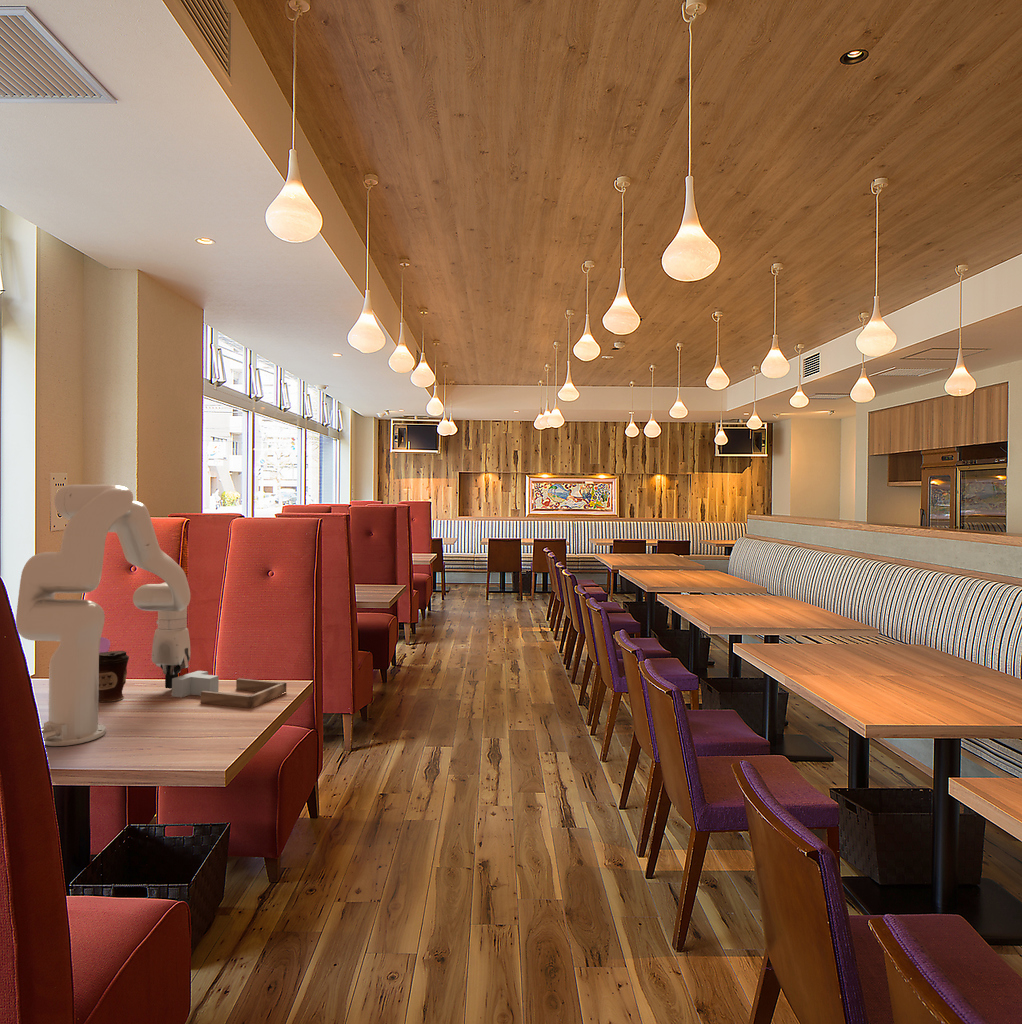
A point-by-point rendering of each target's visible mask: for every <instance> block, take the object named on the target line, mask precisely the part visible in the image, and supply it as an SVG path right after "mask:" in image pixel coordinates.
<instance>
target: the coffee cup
mask: <svg viewBox="0 0 1022 1024" xmlns="http://www.w3.org/2000/svg"><path fill="white" fill-rule="evenodd" d="M129 659H130V656H129V655H127V651H125V650H113V651H112V650H111V651H108V652H100V653H99V696H98V703H99V702H101V703H104V702H105V703H107V702H108V703H109V702H116V701H121V700H123V699H124V698H125V697H124V694H123V690H124V689H123V688H124V686H125V684H126V681H127V674H128V671H127V668H128V666H127V665H128V664H129Z"/></svg>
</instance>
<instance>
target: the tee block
mask: <svg viewBox="0 0 1022 1024" xmlns="http://www.w3.org/2000/svg"><path fill="white" fill-rule="evenodd" d="M219 680H220V679H219V675H213V674H209V671H206V670H205V671H204V670H196V671H193V672H189V673H185V674H183V675H178V677H176V678H173V679H172V688H171V697H172V698H173V697H176V698H185V697H186V696H190V695H194V696H201V692H202V691H212V692H219V683H220V682H219Z"/></svg>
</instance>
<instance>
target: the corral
mask: <svg viewBox="0 0 1022 1024" xmlns="http://www.w3.org/2000/svg"><path fill="white" fill-rule="evenodd" d="M235 687H236V688H235V690H237V691H249V692H255V693H253V694H251V695H249V694H240V693H232V692H231V693H229V692H223V691H222V692H221V691H220V692H219V691H218V692H212V691H202V692H201V695H200V703H201V704H208V705H217V706H218V705H219V706H226V707H235V708H236V707H237V708H242V709H243V708H245V709H253V708H254V707H257V706H260V705H263V704H265V703H266V702H269V701H271V699H272V700H274V699H276V698H278V697H277V696H279V695H281V694H282V693H284V692H286V693H287V682H282V681H273V680H272V681H271V680H260V679H251V678H250V679H249V678H241V677H239V678H236V683H235ZM256 691H257V692H256ZM281 696H282V695H281ZM275 697H276V698H275ZM279 697H280V696H279ZM273 698H274V699H273Z"/></svg>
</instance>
